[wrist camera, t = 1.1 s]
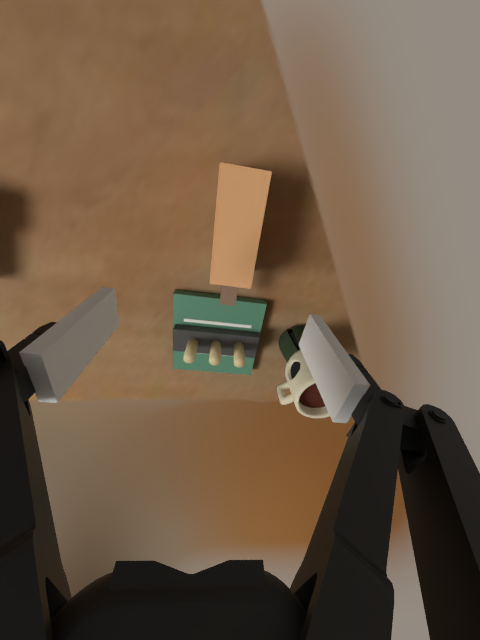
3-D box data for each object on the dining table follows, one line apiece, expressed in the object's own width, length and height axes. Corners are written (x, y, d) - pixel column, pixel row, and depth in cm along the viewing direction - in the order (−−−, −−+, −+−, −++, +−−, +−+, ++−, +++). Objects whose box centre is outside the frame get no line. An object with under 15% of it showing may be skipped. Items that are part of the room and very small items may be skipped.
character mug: (317, 308, 36) (357, 361, 25) (333, 338, 39) (375, 398, 28) (258, 339, 39) (270, 401, 27) (277, 366, 42) (295, 431, 30)
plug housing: (211, 286, 33) (207, 307, 27) (221, 168, 26) (219, 162, 20) (243, 290, 34) (246, 311, 28) (262, 176, 27) (271, 171, 21)
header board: (175, 289, 33) (163, 311, 27) (265, 300, 35) (273, 322, 29) (174, 362, 40) (165, 393, 34) (250, 369, 42) (253, 399, 36)
